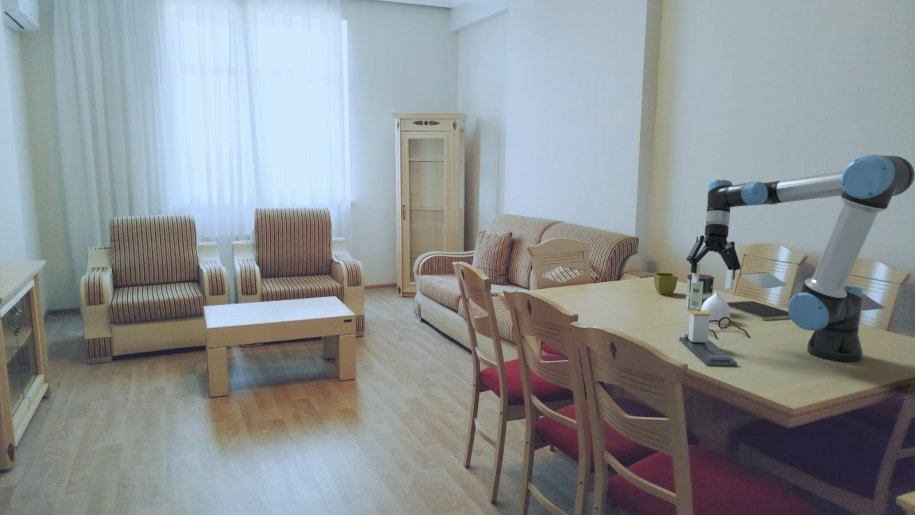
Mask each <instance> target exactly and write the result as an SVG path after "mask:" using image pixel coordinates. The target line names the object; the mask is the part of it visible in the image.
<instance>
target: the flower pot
mask: <svg viewBox="0 0 915 515" xmlns="http://www.w3.org/2000/svg"><path fill="white" fill-rule="evenodd" d="M678 279H679V277H678V276H677V275H676V274H674V273H672V272H653V284H654V287H655V290H656V292H657V293H659V295H673V294H674V292H675V290H676V288H677V283H678Z"/></svg>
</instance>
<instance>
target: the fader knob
mask: <svg viewBox="0 0 915 515" xmlns="http://www.w3.org/2000/svg"><path fill="white" fill-rule="evenodd" d="M709 318H710V314H709V313H708V312H706V311H689V325H688V334H689V337H688V339H689V340H691V341H692V342H708V340H709V332H710V331H709V329H710V324H709Z"/></svg>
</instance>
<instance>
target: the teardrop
mask: <svg viewBox="0 0 915 515" xmlns="http://www.w3.org/2000/svg"><path fill="white" fill-rule="evenodd" d="M701 311H706V312H708V313H709V314H710V318H709V320H720V319H721V318H723V317H728V318H730V319H731V309H730V308H729V305H728V304H727V301H726V300H725V299H724V298H723V297H722V296H721V294H720V293H719V292H718V290H716V291H715V293H714V294H712V296H711V297H709V298H708V299H707V300H706V301H705V302H704V303H703V305H702V308H701ZM711 323H715V324H714V325H718V322H710V324H711ZM728 323H729V320H728V319H723V320H722V321H721V322H720V325H728Z"/></svg>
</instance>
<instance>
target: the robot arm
mask: <svg viewBox="0 0 915 515" xmlns="http://www.w3.org/2000/svg"><path fill="white" fill-rule="evenodd" d="M914 181H915V168H914V166H913V165H912V163H911V162H909V161H908V160H907V159H906V158H904V157H901V156H898V155H878V154H870V155H864V156H860V157H858V158H856V159H854V160H852V161H851V162H850V163H849V164H848V165H847V166H846V167H845V169H844V170H843V171H835V172H829V173H823V174H821V173H820V174H815V175H809V176H804V177H803V176H802V177H796V178H790V179H789V178H788V179H783V180H775V181H769V182H762V181H748V182H744V183H737V184H733V182H732V181H731V180H727V179H715V180H712V181H710V182H709V185H708V191H707V207H706V215H705V226H704V227H705V228H704V235H698V236H696V239H695V240H696V241H695V243H694V245H693V247H692V248H691V250H690V252H689V254H688V255H687V257H686V259H685V260H686V261H687V262H688V263H689V264H690V273H691V274H692V283H699V274H700V270H701V263H699V262H700V261H702V259H703V258H704V257H705V256H706V255H707V254H708V253H709V252H713V253H718V254H719V255H720V256H721V258H722V260H723V262H724V263H725V265H726V267H727V270H726V271H725V272H726V273H725V284H724V289H725V290H733V284H734V280H735V279H736V277H735V276H736V271H738V270H741V268H742V267H741V264H740V260H739V257H738V254H737V250H736V244H735V241H734V240H733V241H728V240H727V238H728V237H729V229H730V226H729V225H730V216H731V208H735V207H738V208H739V207H747V206H749V207H750V206H762V205H764V206H765V205H770V206H771V205H778V204H782V203H791V202H800V201H808V200H817V199H825V198H826V199H827V198H832V197H833V198H834V197H840V198H841V200H842V201H843V205H842V208H841V210H840V213H839V215H838V217H837V219H836V222H835V224H834V226H833V228H832V231H831V233H830V236H829V238H828V240H827V243H826V245H825V247H824V250H823V252H822V255H821V257H820V259H819V261H818V264H817V266H816V268H815V271H814V273H813V276H812V277H810V278H807V279H805V280H804V282H803V284H802V287H801V290H800V291H799V293H796V294H794V295H793V296H792V297H791V298H790V299H789V301H788V303H787V304H788V305H787V312H788V313H789V315H790V317H791V318H790V320H791V321H792V322H793V324H795V325H796V326H797V327H799V328H801V329H802V330H806V331H813V332H812V334H811V337H810V339H809V340H808V343H807V347H806V352H808V354H810V355H813V356H815V357H818V358H821V359H826V360H831V361H839V362H858V361H861V360H862V358H863V353H864V352H863V348H862V345H861V341H860V337H859V329H860V320H861V314H862V312H861V311H862V304H863V300H864V297H863V289H862V288H861V287H859V286H858V285H857V286H856V285H851V284H847V281H848V279H849V277H850V274H851V272H852V270H853V269H854V267H855V264H856V262H857V260H858V257H859V255H860V253H861V251H862V248H863V246H864V244H865V241H866V239H867V238H868V236H869V233H870V230H871V229H872V227H873V224H874V222H875V220H876V218H877V215H878V214H879V213H881V212H883V211H885V210H887V208H888V207H889V204H890V202H891V200H892V199H893V197H895V196H898V195H902V194H903V193H904V192H907V190H909V189H910V187H911V186H912V185H913V183H914ZM703 244H705V245H704V246H703ZM701 247H702V248H701ZM700 249H701V250H700Z"/></svg>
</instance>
